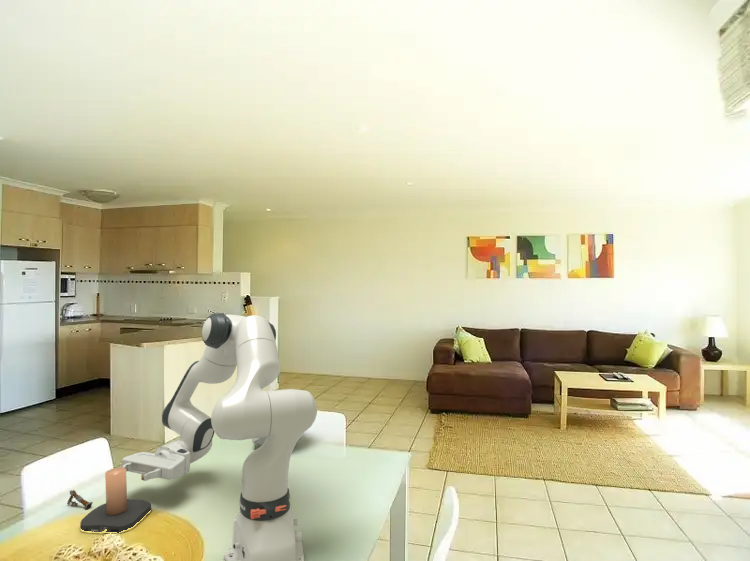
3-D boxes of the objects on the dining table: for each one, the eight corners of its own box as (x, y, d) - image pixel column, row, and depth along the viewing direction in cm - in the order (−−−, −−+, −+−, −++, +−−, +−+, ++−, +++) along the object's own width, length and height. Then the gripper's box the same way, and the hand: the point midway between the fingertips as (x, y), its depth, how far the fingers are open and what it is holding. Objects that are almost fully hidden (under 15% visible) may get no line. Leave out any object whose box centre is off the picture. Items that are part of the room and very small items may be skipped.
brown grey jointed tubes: (68, 500, 132) (73, 487, 132) (87, 514, 130) (93, 501, 130) (62, 503, 131) (68, 489, 130) (82, 517, 129) (87, 504, 128)
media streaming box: (156, 508, 130) (156, 498, 130) (127, 536, 116) (128, 524, 116) (107, 507, 131) (108, 497, 131) (73, 535, 116) (73, 523, 116)
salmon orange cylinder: (125, 512, 122) (124, 473, 121) (104, 516, 120) (103, 476, 119) (128, 504, 126) (127, 466, 126) (108, 507, 124) (107, 469, 124)
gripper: (144, 444, 144) (105, 459, 131) (193, 452, 137) (157, 469, 124) (144, 463, 144) (104, 480, 131) (193, 473, 137) (157, 492, 124)
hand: (130, 475), depth 127 cm, fingers open, 8 cm apart
